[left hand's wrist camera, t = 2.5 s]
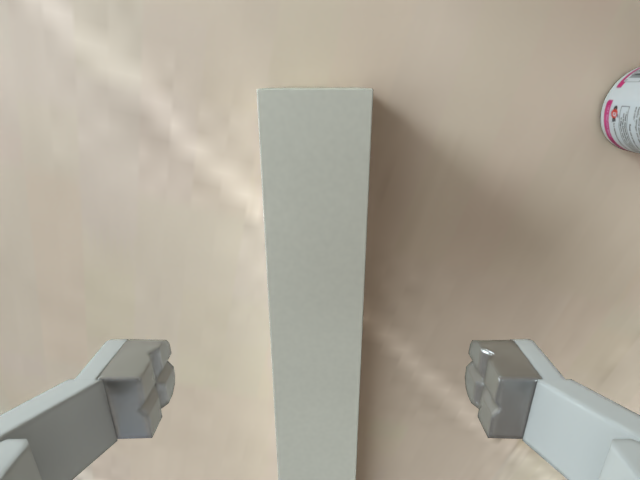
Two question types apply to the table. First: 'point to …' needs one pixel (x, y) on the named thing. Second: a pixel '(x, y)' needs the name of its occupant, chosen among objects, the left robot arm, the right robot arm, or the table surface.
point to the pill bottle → (623, 112)
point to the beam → (315, 270)
